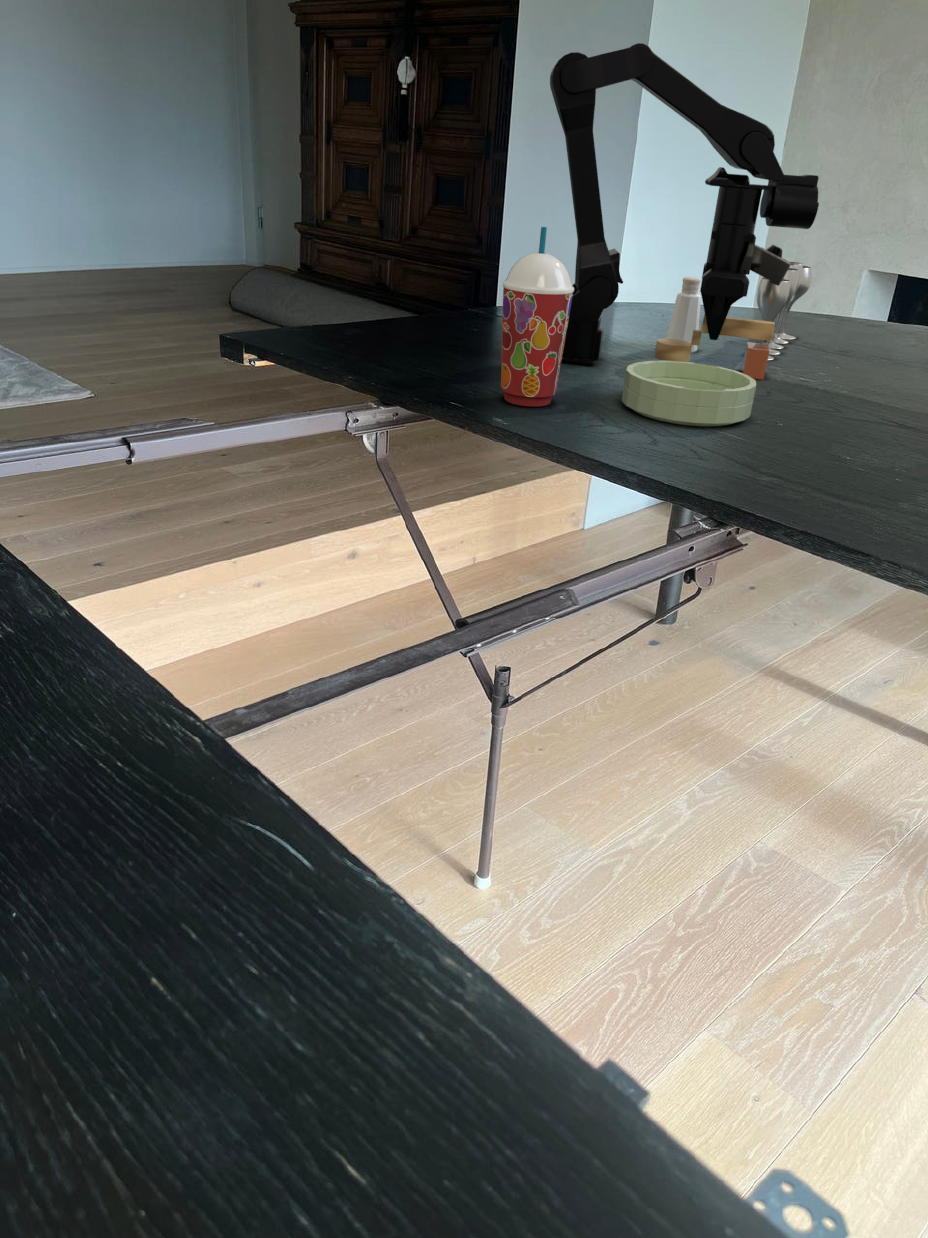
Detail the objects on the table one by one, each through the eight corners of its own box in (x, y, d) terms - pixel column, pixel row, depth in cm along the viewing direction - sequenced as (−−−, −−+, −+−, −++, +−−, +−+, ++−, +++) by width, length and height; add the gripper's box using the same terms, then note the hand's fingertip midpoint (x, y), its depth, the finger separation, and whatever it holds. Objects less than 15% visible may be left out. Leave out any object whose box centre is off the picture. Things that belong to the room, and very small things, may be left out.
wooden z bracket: (653, 359, 141) (660, 312, 138) (655, 352, 145) (662, 307, 142) (765, 373, 138) (775, 325, 135) (763, 366, 142) (773, 320, 139)
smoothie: (568, 398, 120) (587, 228, 111) (551, 414, 113) (571, 233, 104) (504, 389, 123) (519, 221, 113) (484, 403, 115) (498, 225, 106)
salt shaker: (682, 353, 152) (694, 280, 147) (656, 346, 155) (667, 275, 150) (704, 351, 155) (716, 279, 150) (678, 344, 158) (689, 274, 153)
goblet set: (775, 362, 150) (794, 273, 144) (738, 356, 152) (756, 269, 146) (800, 336, 173) (818, 259, 167) (768, 332, 175) (784, 255, 169)
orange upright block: (742, 377, 139) (748, 347, 137) (741, 370, 143) (747, 341, 141) (763, 379, 138) (769, 350, 136) (762, 372, 143) (768, 344, 141)
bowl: (615, 418, 113) (621, 380, 111) (627, 389, 127) (632, 355, 125) (750, 435, 111) (758, 396, 109) (747, 404, 124) (754, 369, 122)
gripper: (799, 234, 123) (773, 356, 130) (789, 224, 140) (767, 333, 147) (711, 226, 125) (690, 347, 132) (712, 217, 142) (693, 325, 149)
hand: (713, 338), depth 140 cm, fingers closed on wooden z bracket
